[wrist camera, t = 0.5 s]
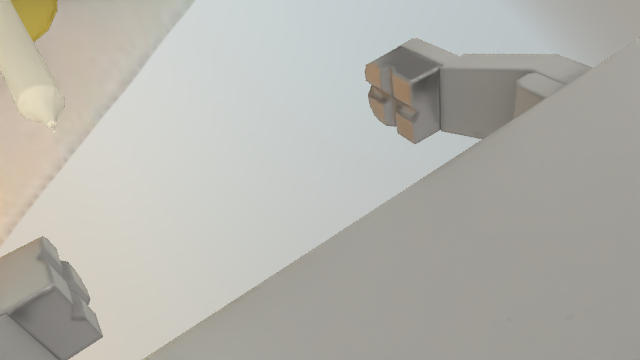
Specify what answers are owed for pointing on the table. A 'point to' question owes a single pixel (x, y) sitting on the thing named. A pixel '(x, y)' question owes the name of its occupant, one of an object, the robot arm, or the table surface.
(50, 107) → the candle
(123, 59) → the table surface
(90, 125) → the table surface
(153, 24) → the table surface
